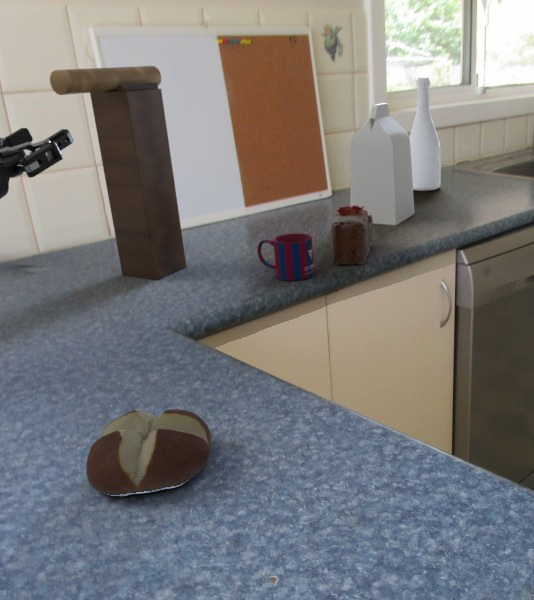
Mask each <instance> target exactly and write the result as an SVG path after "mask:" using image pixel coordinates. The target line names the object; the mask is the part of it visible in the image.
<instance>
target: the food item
mask: <svg viewBox="0 0 534 600" xmlns="http://www.w3.org/2000/svg"><path fill="white" fill-rule="evenodd" d="M363 208H364V205H363V206H362V208H361V207H358V205H357V206H356V205H354V206H351V207H350V205H346V206H340V207H338V209H337V211H336V213H335V215H334V218H333V221H332V224H331V227H330V238H331V239H330V240H331V242H330V243H331V244H330V246H331V254H332V258H333V261H334V264H336V265H341V266H343V265H344V266H345V265H364V264H365V263H366V261H367V258H368V256H370V248H371V247H372V242H373V237H374V224H373V219H372V215H369V216H368V212H367V211H366V210H363Z"/></svg>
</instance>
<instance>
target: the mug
mask: <svg viewBox="0 0 534 600" xmlns="http://www.w3.org/2000/svg"><path fill="white" fill-rule="evenodd" d="M264 243H265V244H270V245H271V246H273V253H274V263H275V264H272V263H270V262H268V261H267V260H266V259H265V258H264V256H263V253H262V246H263V244H264ZM257 257H258V259H259V261H260V262H261V263H262V264H263V265H264V266H266V267H268V268H270V269H273V270H275V273H276V274H275V275H276V277H277V279H279V280H283V281H287V282H288V281H290V282H291V281H292V282H295V281H302V280H307V279H309V278H311V277H313V276H314V275H315V264H314V250H313V237H312V236H311V235H310V234H308V233H300V232H299V233H297V232H296V233H294V232H293V233H284V234H280V235H277V236H274V238H273V240H272V239H263V240H261V241H260V242H259V243H258V245H257Z"/></svg>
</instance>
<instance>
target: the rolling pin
mask: <svg viewBox="0 0 534 600" xmlns="http://www.w3.org/2000/svg"><path fill="white" fill-rule="evenodd" d="M153 82H157V83H158V87H159V86H160V85H161V83H162V74H161V71H160V69H159V68H157V66H155V65H139V66H117V67H116V66H115V67H94V68H74V69H73V68H72V69H71V68H70V69H55V70H52V72H50V76H49V83H50V87H51V89H52V91H54V92H55V94H57V95H59V96H66V95H77V94H78V95H79V94H90V93H92V92H104V91H116V90H118V86H117V85H125V84H139V83H153Z"/></svg>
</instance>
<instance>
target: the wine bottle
mask: <svg viewBox="0 0 534 600" xmlns="http://www.w3.org/2000/svg"><path fill="white" fill-rule="evenodd" d="M430 87H431V80H430V77H417V79H416V88H417V92H416V93H417V94H416V95H417V98H416V99H417V100H416V112H415V117H414V119H413V122H412V123H413V124H412V127H411V130H410V134H409V138H410V149H411V165H412V181H413V191H418V192H429V191H436V190H438V189H439V188H440V187H441V182H442V181H441V175H442V174H441V171H442V170H441V168H442V167H441V166H442V164H441V162H442V161H441V159H442V155H441V152H442V151H441V149H442V147H441V143H440V138H439V135H438V133H437V130H436V127H435V123H434V121H433V117H432V113H431V107H430Z"/></svg>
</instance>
